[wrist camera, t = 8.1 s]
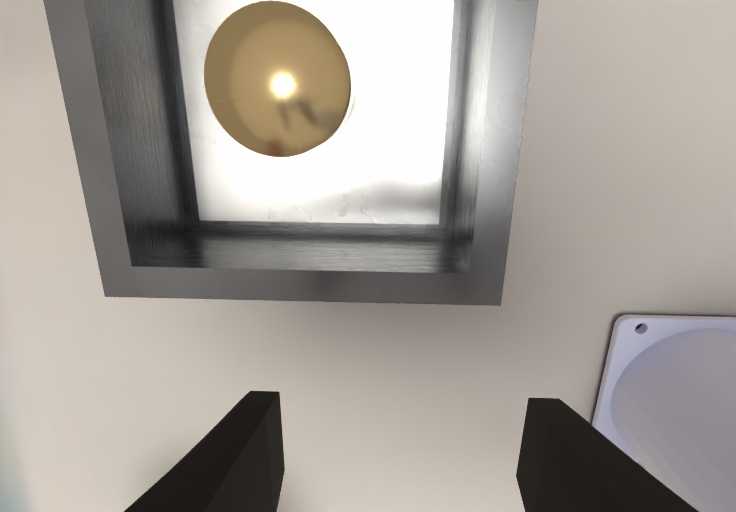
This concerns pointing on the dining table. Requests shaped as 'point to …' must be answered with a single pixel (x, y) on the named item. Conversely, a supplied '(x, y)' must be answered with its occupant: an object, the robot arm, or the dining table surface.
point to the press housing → (283, 239)
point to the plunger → (316, 108)
